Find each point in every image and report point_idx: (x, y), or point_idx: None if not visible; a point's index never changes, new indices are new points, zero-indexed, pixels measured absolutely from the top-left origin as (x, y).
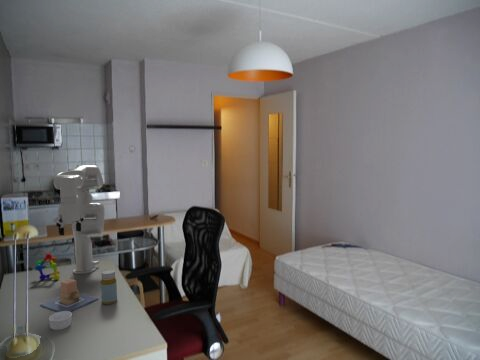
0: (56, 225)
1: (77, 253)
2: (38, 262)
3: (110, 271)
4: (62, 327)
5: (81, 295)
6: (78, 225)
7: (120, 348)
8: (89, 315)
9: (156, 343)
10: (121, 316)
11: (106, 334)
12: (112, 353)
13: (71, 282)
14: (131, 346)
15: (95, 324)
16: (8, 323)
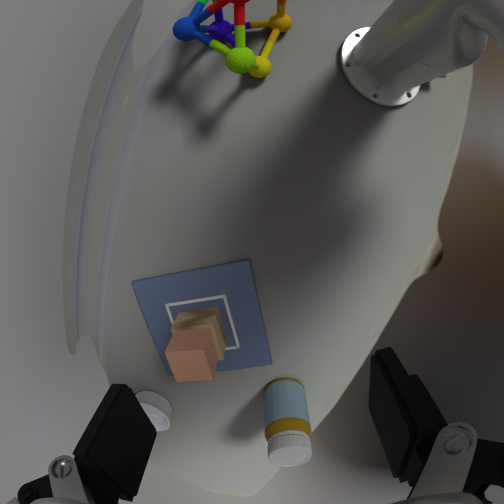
0: (41, 485)
1: (386, 39)
2: None
3: (296, 456)
4: (151, 417)
5: (248, 312)
6: (392, 456)
7: (207, 483)
8: (213, 411)
9: (246, 495)
10: (258, 445)
11: (207, 462)
12: (194, 482)
13: (193, 381)
14: (219, 487)
15: (207, 438)
16: (68, 317)
